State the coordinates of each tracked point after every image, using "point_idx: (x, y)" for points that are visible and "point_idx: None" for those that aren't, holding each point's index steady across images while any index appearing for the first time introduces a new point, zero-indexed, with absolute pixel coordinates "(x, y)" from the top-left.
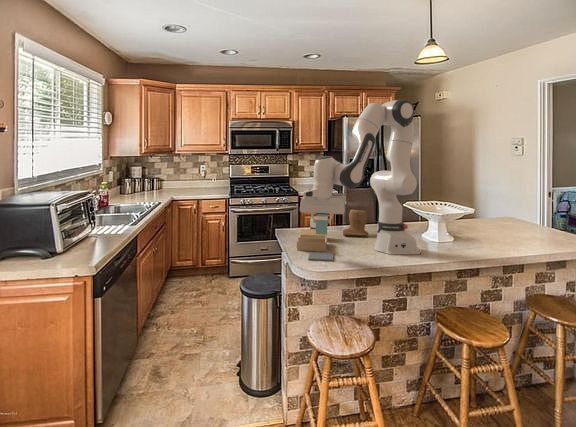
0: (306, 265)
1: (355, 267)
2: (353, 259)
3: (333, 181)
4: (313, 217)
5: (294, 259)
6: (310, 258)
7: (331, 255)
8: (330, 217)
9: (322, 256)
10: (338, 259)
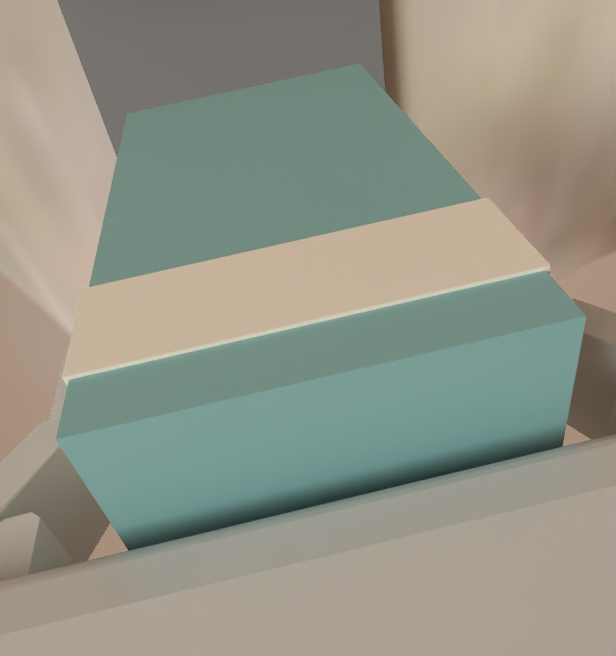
0: None
1: (568, 261)
2: (598, 22)
3: None
4: (99, 534)
5: (6, 251)
6: None
7: (361, 26)
8: (582, 390)
9: None
10: (438, 84)
